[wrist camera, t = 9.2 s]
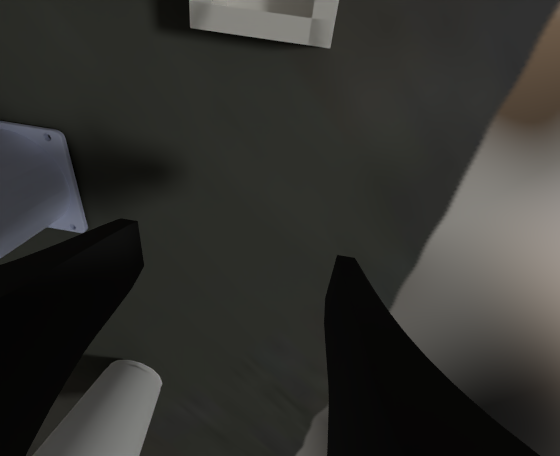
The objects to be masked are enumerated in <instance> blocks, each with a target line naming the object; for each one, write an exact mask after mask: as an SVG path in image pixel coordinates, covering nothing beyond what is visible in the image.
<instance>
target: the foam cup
mask: <svg viewBox="0 0 560 456" xmlns="http://www.w3.org/2000/svg"><path fill="white" fill-rule="evenodd" d="M161 385H162V381H161V378H160V376H159V375H158V374H157V373H156V372H155V371H154V370H153V369H152V368H150V367H148V366H146V365H144V364H142V363H140V362H136V361H132V360H116V361H114V362H113V363H111V364H110V365H109V366H108V368H106V369H105V370H104V371H103V373H102V374H101V375H100V376H99V377H98V379H97V380H96V381H95V382H94V383H93V385H92V386H91V387H90V388H89V389H88V390H87V392H86V393H85V394H84V395H83V396H82V398H81V399H80V400H79V401H78V402H77V404H76V405H75V406H74V407H73V408H72V409H71V411H70V412H69V413H68V414H67V415H66V417H65V418H64V419H63V420H62V421H61V422H60V424H59V425H58V426H57V427H56V428H55V430H54V431H53V432H52V433H51V434H50V436H49V437H48V438H47V439H46V440H45V441H44V443H43V444H42V445H41V446H40V447H39V449H38V450H37V451H36V452H35V453H34V455H33V456H139V454H140V451H141V448H142V445H143V442H144V439H145V436H146V433H147V430H148V427H149V423H150V420H151V417H152V414H153V411H154V408H155V405H156V402H157V399H158V396H159V393H160V387H161Z"/></svg>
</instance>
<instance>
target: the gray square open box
mask: <svg viewBox="0 0 560 456" xmlns="http://www.w3.org/2000/svg"><path fill="white" fill-rule="evenodd" d="M338 2H339V0H189V7H190V28H194V29H200V30H207V31H214V32H221V33H228V34H235V35H242V36H248V37H255V38H262V39H269V40H276V41H283V42H290V43H296V44H303V45H310V46H317V47H324V48H330V46H331V41H332V35H333V30H334V24H335V19H336V13H337V8H338Z"/></svg>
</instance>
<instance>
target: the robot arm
mask: <svg viewBox="0 0 560 456" xmlns="http://www.w3.org/2000/svg"><path fill="white" fill-rule="evenodd" d="M48 135H50V137H51V139H50V138H49V137H48ZM46 227H49V228H55V229H61V230H67V231H73V232H78V233H83V232H85V231H86V230H87V229H88V226H87V222H86V218H85V214H84V210H83V206H82V202H81V198H80V194H79V190H78V186H77V182H76V178H75V174H74V170H73V166H72V162H71V158H70V154H69V150H68V146H67V142H66V138H65V136H64V134H63V133H62V132H60V131H59V130H56V129H50V128H43V127H37V126H31V125H25V124H18V123H12V122H6V121H0V258H2V257H3V256H5V255H6V254H8V253H9V252H11V251H12V250H14V249H15V248H17V247H18V246H20V245H21V244H23V243H24V242H26V241H27V240H28V239H30V238H31V237H33V236H34V235H36V234H37V233H39V232H40V231H42V230H43V229H45V228H46ZM143 267H144V262H143V255H142V248H141V241H140V235H139V228H138V221H133V220H127V219H118V220H115V221H112V222H110V223H107V224H105V225H102V226H100V227H97V228H95V229H92V230H90V231H88V232H85V233H83V234H81V235H78V236H76V237H73V238H71V239H69V240H66V241H64V242H61V243H59V244H56V245H54V246H51V247H49V248H46V249H43V250H41V251H38V252H36V253H33V254H30V255H28V256H25V257H22V258H20V259H17V260H14V261H11V262H8V263H5V264H2V265H0V456H26V454H27V452H28V450H29V448H30V446H31V444H32V442H33V440H34V438H35V436H36V434H37V433H38V431H39V429H40V427H41V425H42V423H43V421H44V419H45V418H46V416H47V414H48V412H49V410H50V408H51V407H52V405H53V403H54V401H55V400H56V398H57V396H58V395H59V393H60V391H61V389H62V388H63V386H64V384H65V382H66V381H67V379H68V377H69V376H70V374H71V373H72V371H73V369H74V368H75V366H76V364H77V363H78V361H79V360H80V358H81V356H82V355H83V353H84V352H85V350H86V349H87V347H88V346H89V344H90V343H91V342H92V340H93V339H94V338H95V336H96V335H97V334H98V332H99V331H100V330H101V328H102V327H103V326H104V325H105V323H106V322H107V321H108V319H109V318H110V317H111V315H112V314H113V313H114V311H115V310H116V309H117V307H118V306H119V305H120V303H121V302H122V301H123V299H124V298H125V297H126V295H127V294H128V293H129V291H130V290H131V289H132V287H133V285H134V283H135V282H136V280H137V278H138V276H139V274H140V273H141V271H142V269H143ZM324 328H325V343H326V357H327V371H328V385H329V417H328V452H327V453H328V454H327V456H540V455H538V454H537V453H536V452H535V451H533V450H532V449H531V448H530V447H528V446H527V445H526V444H524V443H523V442H522V441H520V440H519V439H518V438H517V437H515V436H514V435H513V434H512V433H510V432H509V431H508V430H506V429H505V428H504V427H503V426H501V425H500V424H499V423H498V422H496V421H495V420H494V419H493V418H491V417H490V416H489V415H488V414H487V413H486V412H485V411H483V410H482V409H481V408H480V407H479V406H478V405H477V404H475V403H474V402H473V401H472V400H471V399H469V397H467V396H466V395H465V394H464V393H463V392H462V391H461V390H460V389H458V387H457V386H455V385H454V384H453V383H452V382H451V381H450V380H449V379H448V378H447V377H446V376H445V375H444V374H443V373H442V372H441V371H440V370H439V369H438V368H437V367H436V366H435V365H434V364H433V363H432V362H431V361H430V360H429V359H428V358H427V357H426V356H425V355H424V354H423V352H422V351H421V350H420V349H419V348H418V347H417V346H416V345H415V343H414V342H413V341H412V340H411V339H410V338H409V337H408V336H407V334H406V333H405V332H404V331H403V329H402V328H401V327H400V326H399V324H398V323H397V322H396V320H395V319H394V318H393V316H392V315H391V314H390V312H389V311H388V310H387V308H386V307H385V305H384V304H383V302H382V301H381V299H380V298H379V296H378V295H377V293H376V292H375V290H374V289H373V287H372V286H371V284H370V282H369V281H368V279H367V277H366V276H365V274H364V272H363V271H362V269H361V267H360V266H359V264H358V262H357V261H356V259H355V258H352V257H346V256H340V255H337V258H336V261H335V265H334V269H333V272H332V276H331V279H330V283H329V286H328V290H327V294H326V297H325V316H324Z"/></svg>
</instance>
